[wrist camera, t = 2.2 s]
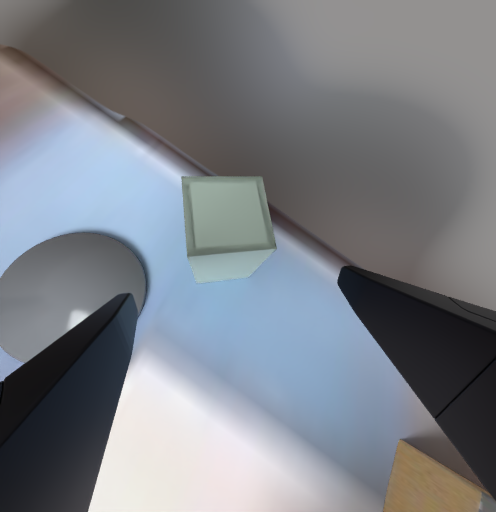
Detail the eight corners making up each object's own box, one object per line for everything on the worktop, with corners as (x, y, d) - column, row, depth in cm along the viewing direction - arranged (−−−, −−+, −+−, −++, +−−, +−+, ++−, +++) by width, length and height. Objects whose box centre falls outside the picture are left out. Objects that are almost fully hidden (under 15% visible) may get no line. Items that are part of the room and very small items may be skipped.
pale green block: (248, 277, 20) (276, 248, 12) (196, 283, 19) (187, 256, 11) (241, 231, 22) (261, 176, 13) (192, 234, 20) (181, 176, 12)
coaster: (172, 277, 19) (170, 276, 18) (76, 394, 15) (71, 398, 14) (78, 214, 19) (74, 211, 18) (-41, 314, 15) (-50, 314, 14)
